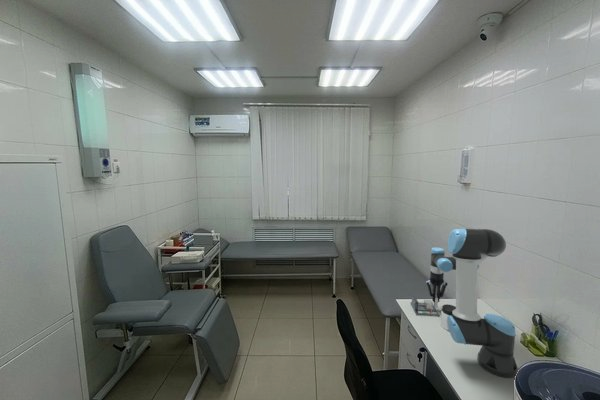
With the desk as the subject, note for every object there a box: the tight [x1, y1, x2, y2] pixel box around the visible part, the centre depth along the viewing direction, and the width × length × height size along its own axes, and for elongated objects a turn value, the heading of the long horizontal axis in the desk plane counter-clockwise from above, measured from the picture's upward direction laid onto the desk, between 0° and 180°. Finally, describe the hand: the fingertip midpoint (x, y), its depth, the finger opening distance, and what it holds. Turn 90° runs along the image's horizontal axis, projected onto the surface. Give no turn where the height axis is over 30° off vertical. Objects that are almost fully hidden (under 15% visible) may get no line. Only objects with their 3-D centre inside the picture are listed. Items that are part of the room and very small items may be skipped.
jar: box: [440, 304, 456, 332], centre depth 155 cm, size 9×8×12 cm
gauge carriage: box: [423, 299, 434, 312], centre depth 172 cm, size 8×4×4 cm, turn 171°
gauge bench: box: [410, 295, 441, 317], centre depth 174 cm, size 14×14×7 cm
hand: (435, 306), depth 173 cm, fingers closed
